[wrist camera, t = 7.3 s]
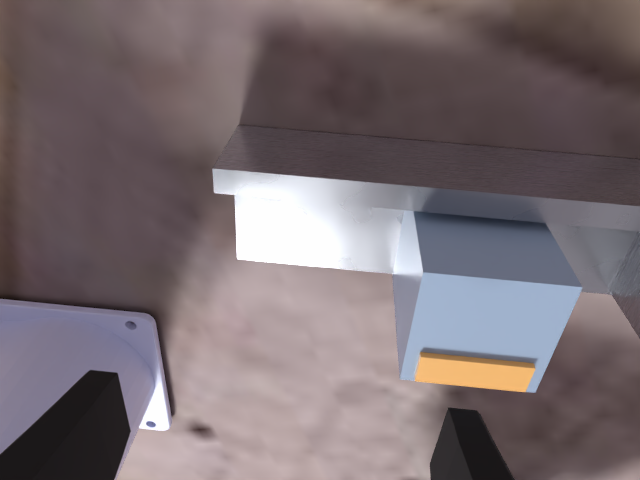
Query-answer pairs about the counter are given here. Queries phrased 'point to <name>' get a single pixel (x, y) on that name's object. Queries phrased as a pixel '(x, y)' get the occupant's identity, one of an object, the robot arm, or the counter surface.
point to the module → (479, 300)
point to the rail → (426, 200)
